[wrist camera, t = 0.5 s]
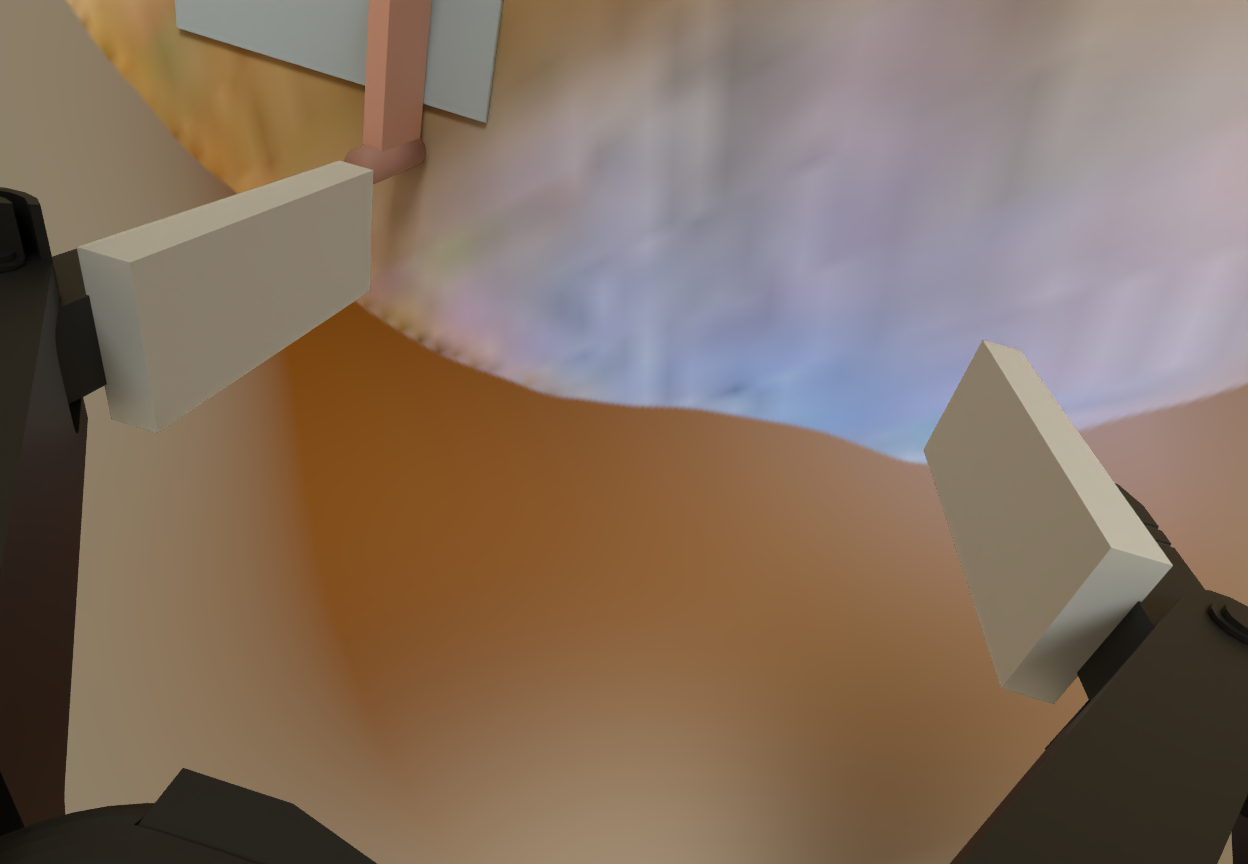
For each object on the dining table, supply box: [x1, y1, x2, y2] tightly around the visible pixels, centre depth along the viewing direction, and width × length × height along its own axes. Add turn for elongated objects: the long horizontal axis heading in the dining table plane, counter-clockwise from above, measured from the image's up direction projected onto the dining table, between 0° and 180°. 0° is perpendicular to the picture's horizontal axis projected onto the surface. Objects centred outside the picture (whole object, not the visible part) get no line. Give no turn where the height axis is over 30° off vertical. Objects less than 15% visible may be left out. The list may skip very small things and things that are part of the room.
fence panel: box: [345, 0, 432, 184], centre depth 35 cm, size 10×2×6 cm, turn 166°
